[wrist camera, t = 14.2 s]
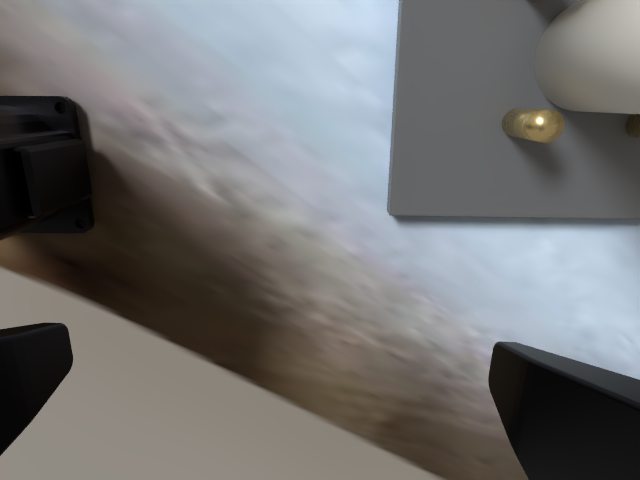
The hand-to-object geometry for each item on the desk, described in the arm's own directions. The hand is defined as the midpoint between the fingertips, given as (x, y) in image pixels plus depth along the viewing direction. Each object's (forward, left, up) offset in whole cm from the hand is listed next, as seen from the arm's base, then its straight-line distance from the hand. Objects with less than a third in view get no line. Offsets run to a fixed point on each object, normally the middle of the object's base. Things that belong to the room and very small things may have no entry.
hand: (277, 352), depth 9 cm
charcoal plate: (+12, +7, -13) cm, 19 cm away
